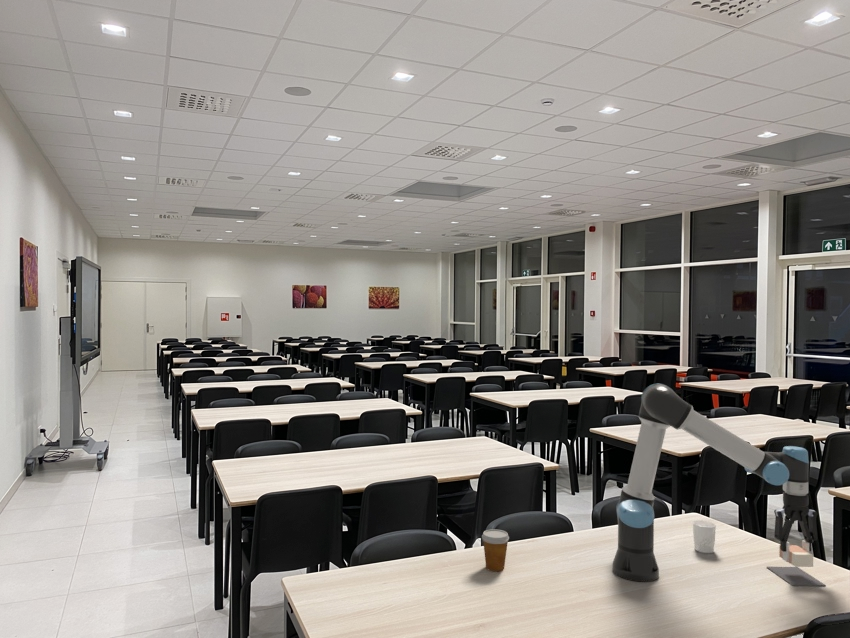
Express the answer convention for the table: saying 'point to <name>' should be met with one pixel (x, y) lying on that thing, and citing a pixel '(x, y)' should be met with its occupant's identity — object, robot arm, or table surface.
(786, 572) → the mat
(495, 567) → the disposable coffee cup
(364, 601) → the table surface
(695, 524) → the white cup
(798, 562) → the flat block
